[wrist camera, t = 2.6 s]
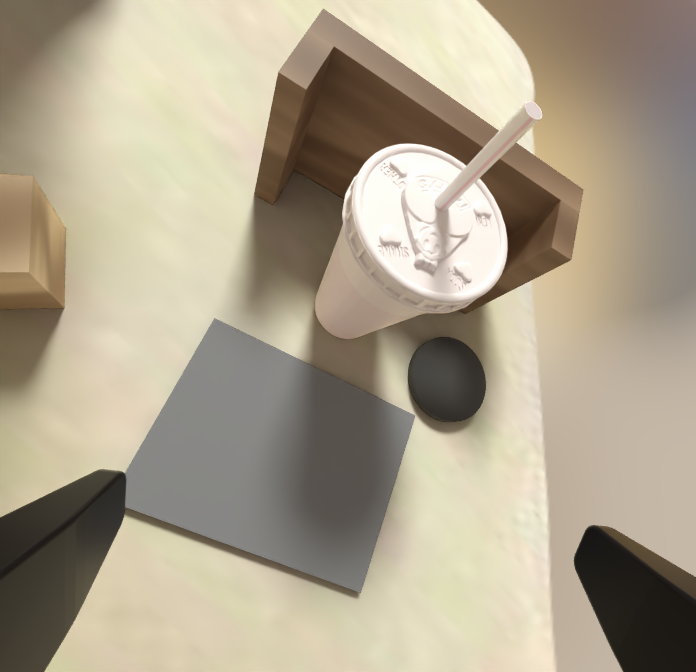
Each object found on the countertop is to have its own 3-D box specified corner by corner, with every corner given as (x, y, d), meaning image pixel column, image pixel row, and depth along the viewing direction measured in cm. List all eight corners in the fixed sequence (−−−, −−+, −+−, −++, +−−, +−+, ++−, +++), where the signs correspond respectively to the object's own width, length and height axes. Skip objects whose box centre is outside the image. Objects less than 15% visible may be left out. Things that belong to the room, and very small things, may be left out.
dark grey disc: (476, 430, 23) (483, 429, 23) (402, 411, 22) (407, 410, 21) (481, 351, 25) (488, 349, 24) (413, 330, 23) (418, 327, 23)
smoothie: (404, 282, 24) (625, 101, 11) (382, 378, 22) (626, 284, 9) (309, 240, 23) (443, -22, 10) (274, 339, 20) (391, 162, 8)
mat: (358, 590, 18) (360, 593, 18) (110, 500, 16) (108, 501, 16) (412, 416, 22) (415, 415, 22) (214, 320, 20) (214, 318, 19)
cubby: (465, 313, 25) (571, 260, 18) (254, 194, 22) (278, 72, 15) (481, 258, 27) (583, 189, 20) (287, 141, 24) (323, 8, 17)
